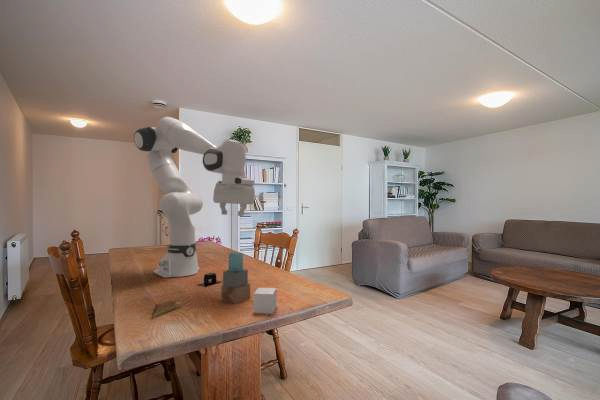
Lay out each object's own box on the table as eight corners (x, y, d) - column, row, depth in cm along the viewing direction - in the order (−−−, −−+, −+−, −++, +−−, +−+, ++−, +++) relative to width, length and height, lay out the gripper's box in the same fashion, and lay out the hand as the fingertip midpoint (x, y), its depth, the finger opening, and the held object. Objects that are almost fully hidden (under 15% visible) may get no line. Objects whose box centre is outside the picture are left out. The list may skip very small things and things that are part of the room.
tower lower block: (221, 300, 96) (221, 285, 96) (235, 294, 102) (235, 280, 102) (235, 303, 92) (235, 288, 92) (250, 297, 98) (250, 283, 98)
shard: (151, 320, 80) (151, 314, 80) (135, 315, 84) (135, 309, 84) (182, 307, 90) (182, 302, 90) (167, 304, 93) (167, 298, 93)
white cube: (276, 306, 90) (276, 288, 90) (272, 314, 84) (272, 294, 84) (258, 305, 90) (258, 287, 90) (253, 313, 84) (253, 293, 84)
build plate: (216, 279, 123) (216, 269, 123) (227, 282, 119) (227, 272, 119) (192, 286, 113) (192, 275, 113) (203, 290, 109) (203, 278, 109)
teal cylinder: (225, 271, 96) (225, 254, 96) (235, 268, 101) (235, 252, 101) (235, 273, 94) (235, 255, 94) (245, 270, 98) (246, 253, 98)
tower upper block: (223, 285, 96) (223, 271, 96) (235, 281, 101) (235, 267, 101) (235, 288, 93) (236, 273, 93) (247, 283, 98) (247, 269, 98)
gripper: (209, 180, 113) (208, 213, 112) (246, 179, 101) (245, 216, 101) (222, 181, 118) (220, 213, 118) (257, 180, 107) (256, 216, 107)
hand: (232, 215), depth 109 cm, fingers open, 8 cm apart
